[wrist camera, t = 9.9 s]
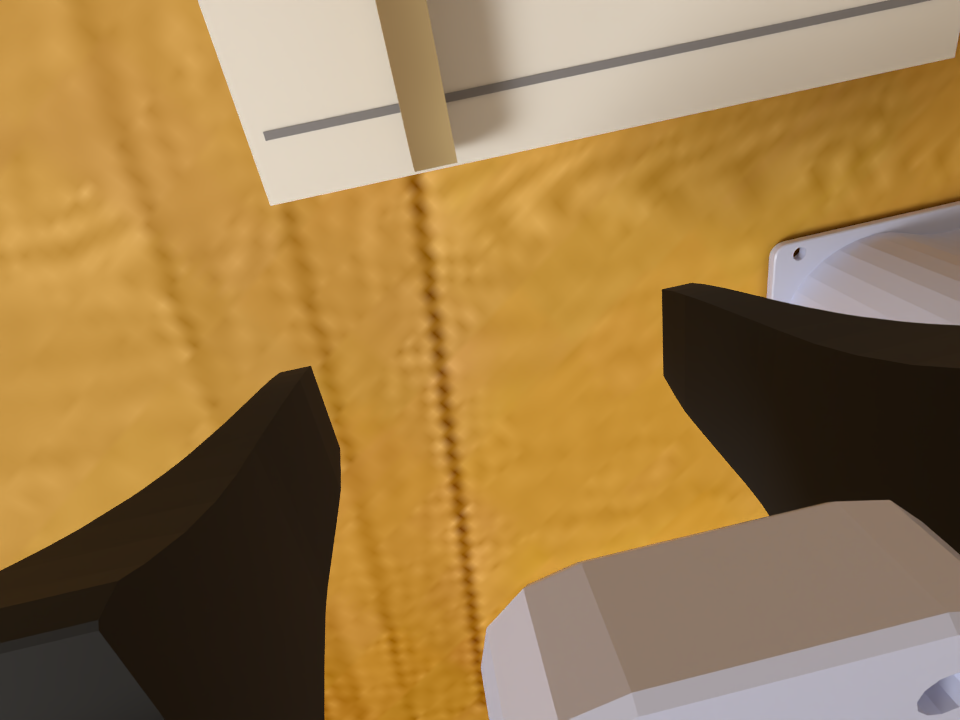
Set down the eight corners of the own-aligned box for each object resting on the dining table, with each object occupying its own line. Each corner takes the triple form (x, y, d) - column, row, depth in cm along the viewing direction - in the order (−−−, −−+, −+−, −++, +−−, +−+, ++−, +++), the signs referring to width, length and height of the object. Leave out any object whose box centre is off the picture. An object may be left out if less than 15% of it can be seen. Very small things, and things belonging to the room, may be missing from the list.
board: (951, -170, 17) (1004, -191, 16) (914, 57, 20) (956, 57, 19) (203, -23, 16) (186, -31, 15) (278, 194, 19) (270, 206, 18)
